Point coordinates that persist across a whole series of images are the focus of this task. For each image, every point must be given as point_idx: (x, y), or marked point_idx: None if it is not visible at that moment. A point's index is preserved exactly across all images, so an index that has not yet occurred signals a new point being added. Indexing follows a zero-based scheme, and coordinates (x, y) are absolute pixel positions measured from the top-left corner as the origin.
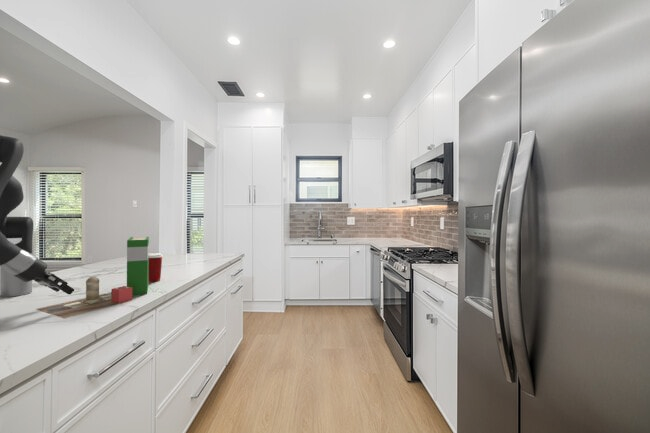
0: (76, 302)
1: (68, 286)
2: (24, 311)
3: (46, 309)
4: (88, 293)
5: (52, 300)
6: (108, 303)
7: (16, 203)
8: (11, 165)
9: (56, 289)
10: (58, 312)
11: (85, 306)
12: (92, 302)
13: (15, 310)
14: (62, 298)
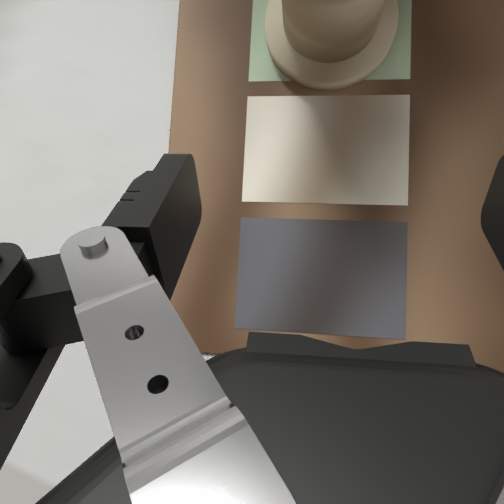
0: (256, 115)
1: None
2: None
3: (246, 318)
4: (357, 13)
5: (9, 169)
6: None
7: None
8: None
9: (192, 218)
10: (433, 321)
11: (454, 136)
12: (386, 54)
13: (45, 420)
14: (19, 107)
